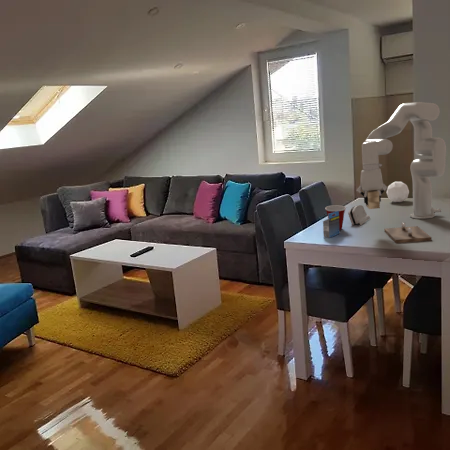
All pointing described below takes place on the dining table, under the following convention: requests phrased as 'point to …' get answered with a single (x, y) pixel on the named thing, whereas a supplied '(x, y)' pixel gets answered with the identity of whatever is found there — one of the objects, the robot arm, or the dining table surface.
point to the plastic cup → (333, 209)
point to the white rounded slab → (358, 215)
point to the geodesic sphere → (397, 191)
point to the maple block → (373, 199)
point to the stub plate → (407, 234)
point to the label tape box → (331, 225)
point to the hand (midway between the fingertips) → (372, 203)
